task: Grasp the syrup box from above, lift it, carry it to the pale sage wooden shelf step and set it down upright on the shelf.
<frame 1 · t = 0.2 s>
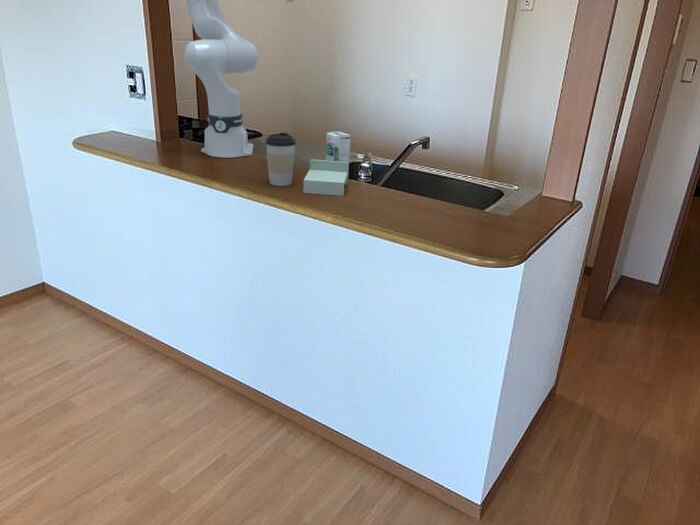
hand: (275, 0, 155), 52 cm above the worktop, tool tilted 20°, fingers open, 8 cm apart
shelf: (325, 188, 171), on the worktop
syrup box: (336, 178, 182), on the worktop
coffee cup: (280, 183, 174), on the worktop
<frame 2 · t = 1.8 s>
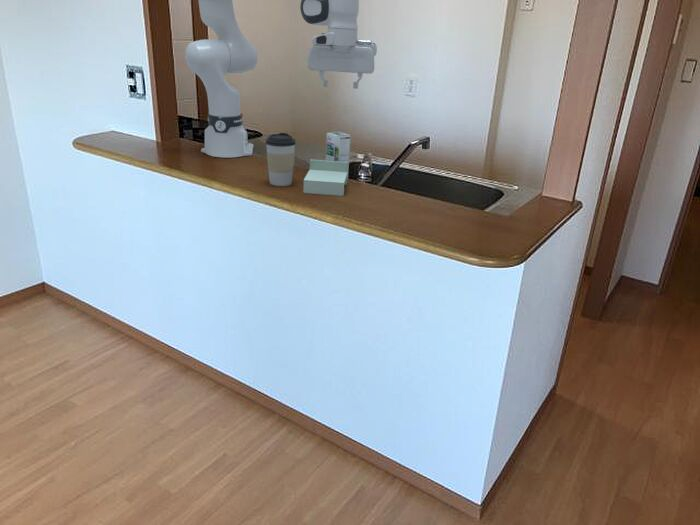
hand: (340, 87, 170), 29 cm above the worktop, tool pointing down, fingers open, 8 cm apart
nothing on the worktop moved.
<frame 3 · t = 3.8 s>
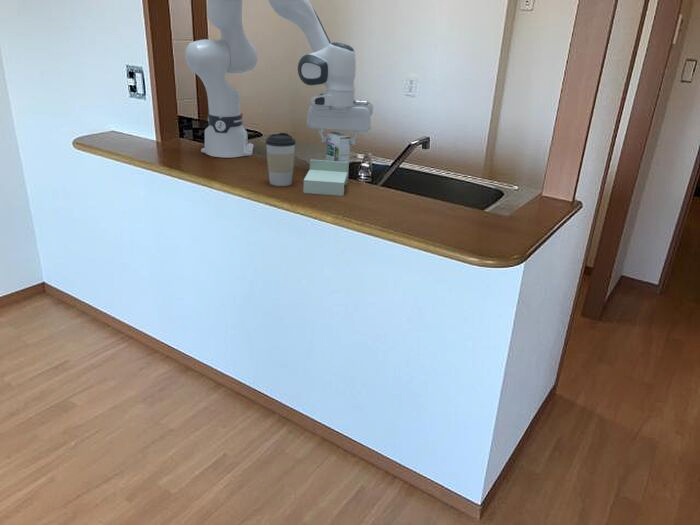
hand: (338, 143, 177), 11 cm above the worktop, tool pointing down, fingers closed on syrup box, 8 cm apart
syrup box: (336, 178, 182), on the worktop, touching gripper
everything else where it was.
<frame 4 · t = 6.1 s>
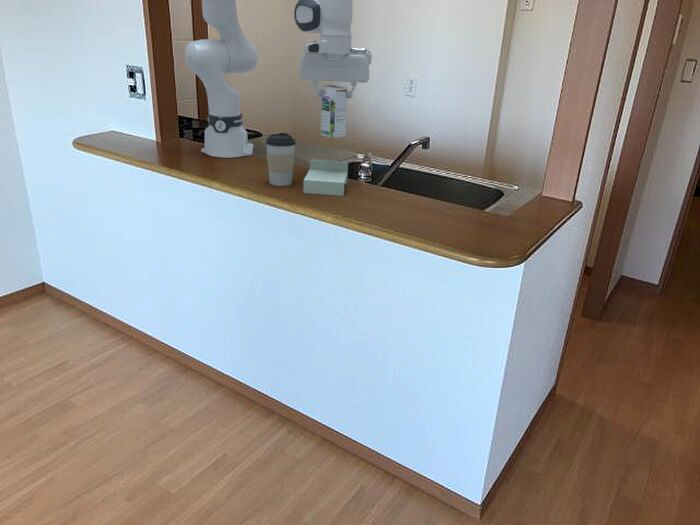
hand: (334, 97, 163), 27 cm above the worktop, tool pointing down, fingers closed on syrup box, 8 cm apart
syrup box: (333, 136, 168), point 15 cm above the worktop, touching gripper
everything else where it was.
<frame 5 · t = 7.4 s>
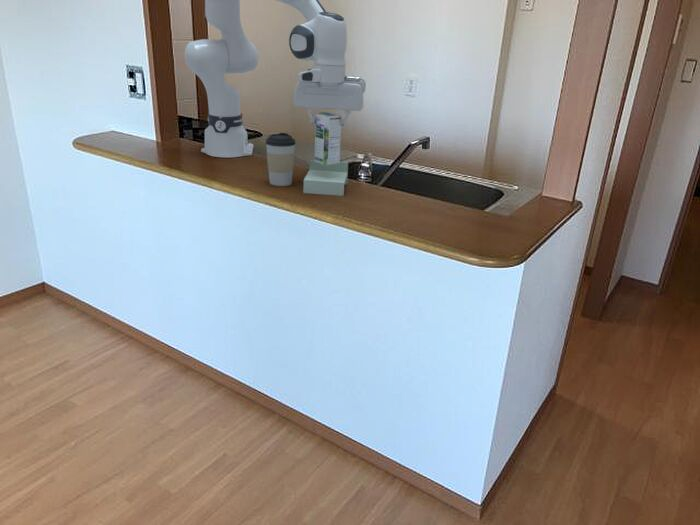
hand: (328, 124, 163), 19 cm above the worktop, tool pointing down, fingers closed on syrup box, 8 cm apart
syrup box: (327, 163, 167), point 8 cm above the worktop, touching gripper
everything else where it was.
when the fingers open (16 cm above the worktop, at t = 8.6 s): syrup box stays where it is, resting on shelf.
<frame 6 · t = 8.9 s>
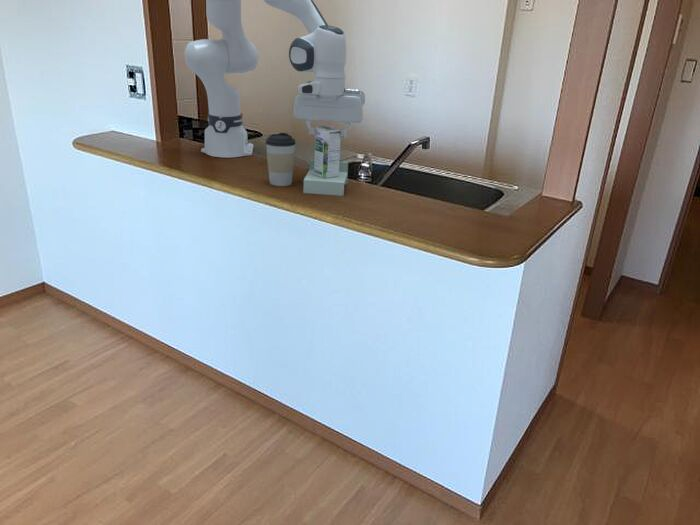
hand: (327, 135, 164), 16 cm above the worktop, tool pointing down, fingers open, 8 cm apart
syrup box: (326, 175, 169), point 4 cm above the worktop, touching shelf
everything else where it was.
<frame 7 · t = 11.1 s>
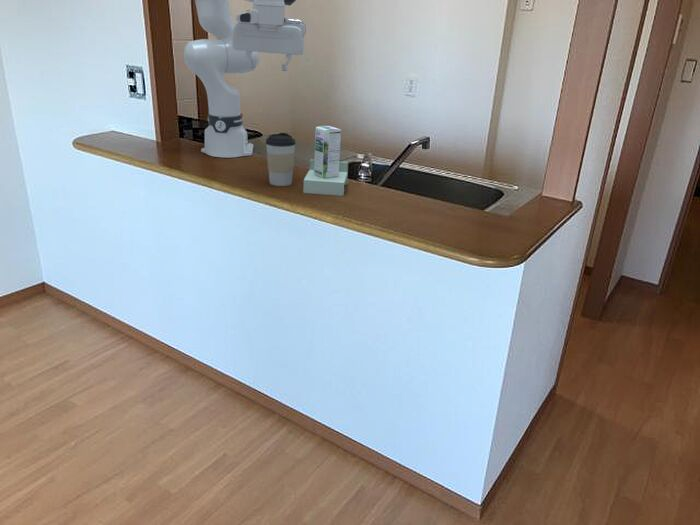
hand: (268, 69, 160), 34 cm above the worktop, tool pointing down, fingers open, 8 cm apart
nothing on the worktop moved.
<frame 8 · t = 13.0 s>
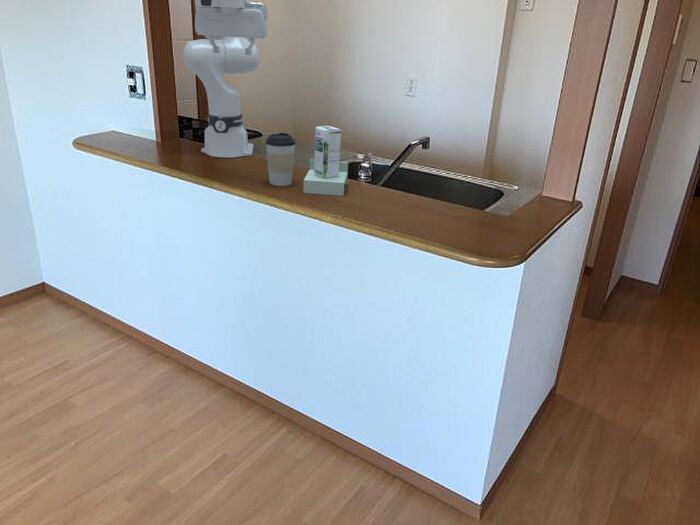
hand: (232, 53, 160), 37 cm above the worktop, tool pointing down, fingers open, 8 cm apart
nothing on the worktop moved.
at the end: syrup box inside the target area on the shelf (0.2 cm from its centre), point 3.8 cm above the shelf's base; syrup box tilted 0°; the gripper is holding nothing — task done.
